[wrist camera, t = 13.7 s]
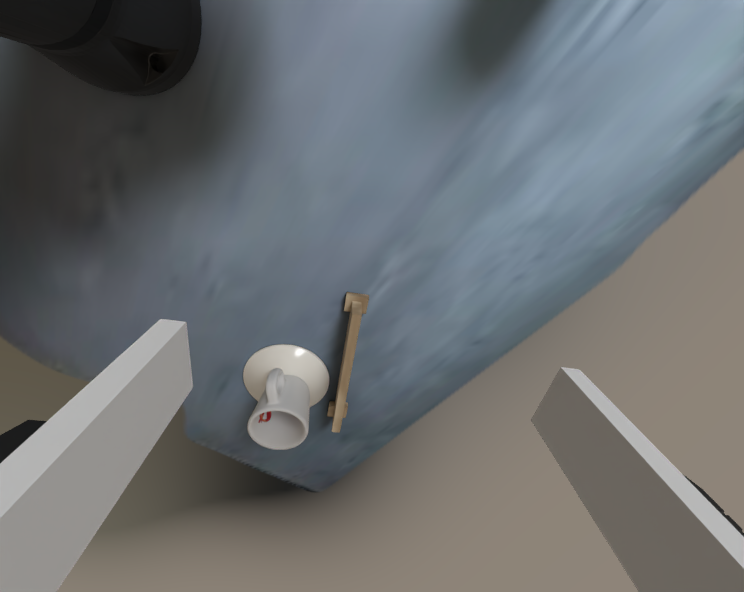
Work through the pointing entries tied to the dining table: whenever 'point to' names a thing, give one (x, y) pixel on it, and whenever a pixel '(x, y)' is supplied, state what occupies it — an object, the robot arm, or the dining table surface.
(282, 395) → the cup
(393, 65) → the dining table surface
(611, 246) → the dining table surface
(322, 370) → the coaster
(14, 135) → the dining table surface
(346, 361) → the rail
